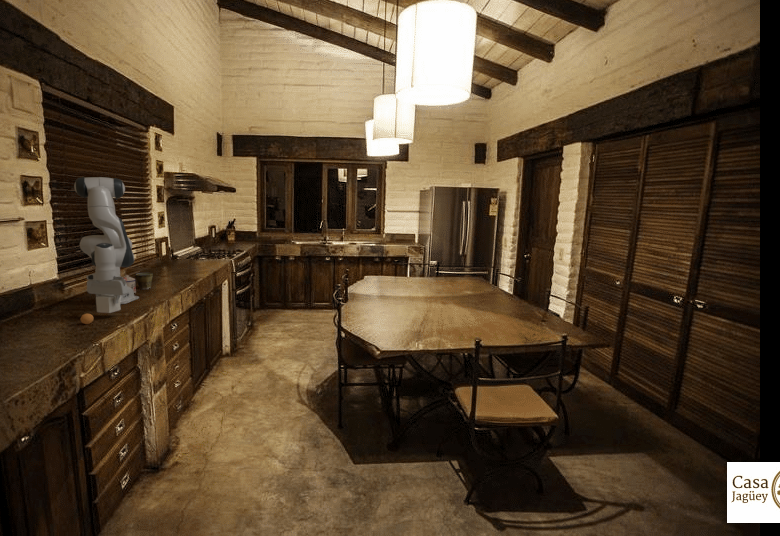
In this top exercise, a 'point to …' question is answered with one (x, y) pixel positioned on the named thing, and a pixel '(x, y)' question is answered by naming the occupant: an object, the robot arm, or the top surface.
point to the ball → (86, 318)
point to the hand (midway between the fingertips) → (108, 303)
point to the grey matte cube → (107, 304)
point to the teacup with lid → (131, 283)
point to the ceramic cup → (144, 280)
